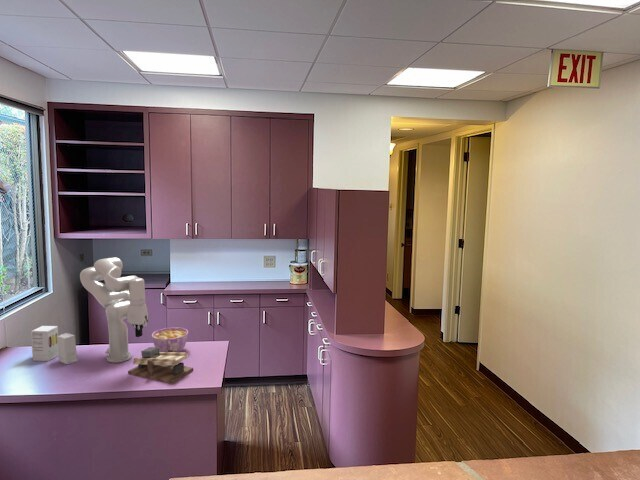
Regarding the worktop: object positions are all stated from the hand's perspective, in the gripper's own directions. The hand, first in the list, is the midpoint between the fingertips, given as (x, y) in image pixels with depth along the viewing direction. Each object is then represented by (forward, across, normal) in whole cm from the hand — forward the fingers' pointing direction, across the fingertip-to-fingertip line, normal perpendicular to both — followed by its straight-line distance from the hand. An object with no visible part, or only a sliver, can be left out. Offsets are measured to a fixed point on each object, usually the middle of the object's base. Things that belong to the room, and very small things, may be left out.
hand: (139, 336), depth 224 cm
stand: (+18, +13, 0) cm, 22 cm away
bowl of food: (+18, 0, +23) cm, 29 cm away
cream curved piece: (+11, +13, 0) cm, 17 cm away
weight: (+11, +7, 0) cm, 13 cm away
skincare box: (+17, -42, -9) cm, 46 cm away
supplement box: (+17, -57, -10) cm, 60 cm away
